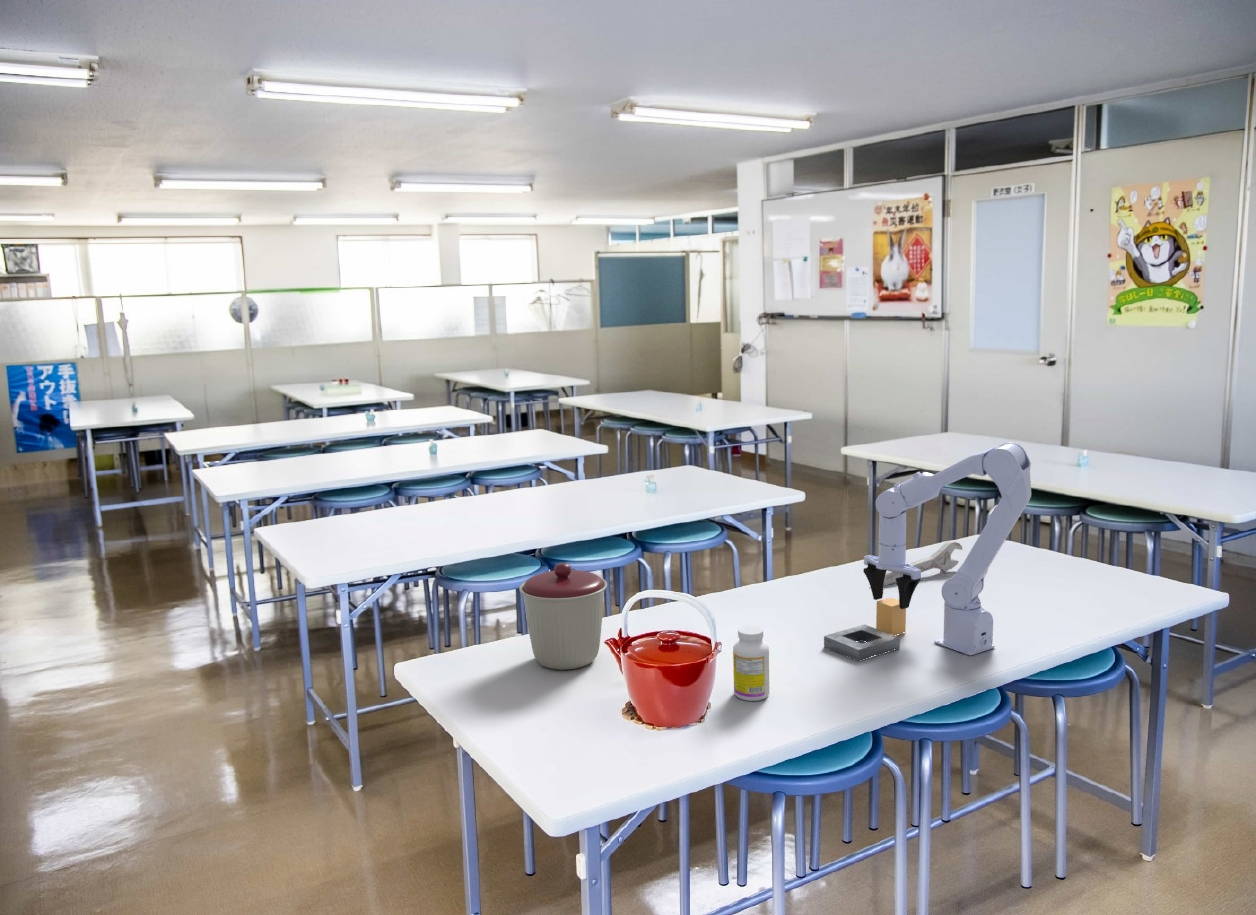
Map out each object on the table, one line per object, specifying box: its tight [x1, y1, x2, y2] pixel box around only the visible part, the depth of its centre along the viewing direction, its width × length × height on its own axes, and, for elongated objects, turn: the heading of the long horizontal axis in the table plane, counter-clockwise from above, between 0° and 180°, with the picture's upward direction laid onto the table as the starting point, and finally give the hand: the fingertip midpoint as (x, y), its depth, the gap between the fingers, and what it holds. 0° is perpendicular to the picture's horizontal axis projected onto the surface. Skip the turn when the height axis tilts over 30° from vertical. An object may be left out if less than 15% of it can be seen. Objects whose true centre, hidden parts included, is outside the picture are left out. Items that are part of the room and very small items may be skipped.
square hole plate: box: [823, 624, 901, 662], centre depth 201 cm, size 10×12×2 cm
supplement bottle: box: [732, 625, 770, 702], centre depth 179 cm, size 7×7×13 cm
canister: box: [518, 562, 608, 671], centre depth 198 cm, size 18×18×21 cm
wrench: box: [884, 540, 963, 586], centre depth 249 cm, size 8×2×30 cm
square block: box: [875, 597, 907, 635], centre depth 210 cm, size 4×4×7 cm
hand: (890, 603), depth 209 cm, fingers open, 7 cm apart
